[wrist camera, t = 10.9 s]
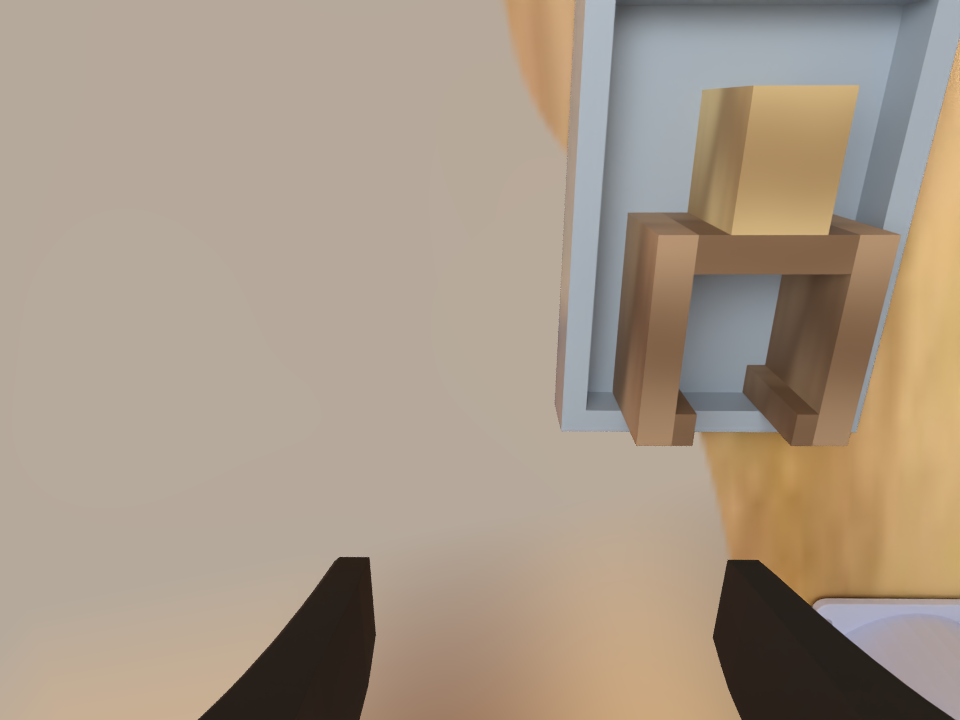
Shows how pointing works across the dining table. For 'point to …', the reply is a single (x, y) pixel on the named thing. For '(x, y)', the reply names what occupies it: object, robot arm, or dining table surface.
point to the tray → (670, 156)
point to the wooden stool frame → (758, 267)
